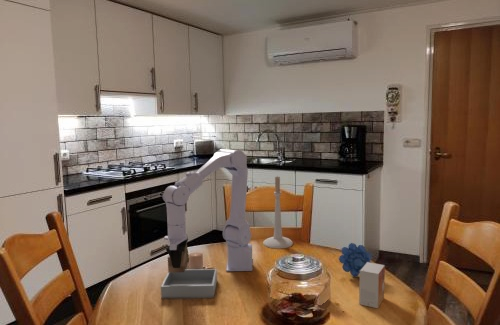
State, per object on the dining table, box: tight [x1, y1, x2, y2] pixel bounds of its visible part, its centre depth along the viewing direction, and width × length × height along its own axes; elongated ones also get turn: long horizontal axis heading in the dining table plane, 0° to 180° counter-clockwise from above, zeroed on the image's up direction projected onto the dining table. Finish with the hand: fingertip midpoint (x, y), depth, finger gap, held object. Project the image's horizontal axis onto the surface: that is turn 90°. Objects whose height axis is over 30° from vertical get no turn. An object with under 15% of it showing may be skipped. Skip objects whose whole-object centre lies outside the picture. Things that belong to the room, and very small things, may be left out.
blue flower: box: [338, 242, 373, 278], centre depth 134 cm, size 12×7×12 cm, turn 92°
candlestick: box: [262, 175, 294, 250], centre depth 169 cm, size 13×13×30 cm
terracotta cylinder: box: [188, 251, 204, 269], centre depth 140 cm, size 5×5×7 cm
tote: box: [160, 268, 218, 300], centre depth 127 cm, size 16×13×4 cm
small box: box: [358, 261, 386, 309], centre depth 117 cm, size 8×6×10 cm
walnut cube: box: [167, 252, 188, 273], centre depth 127 cm, size 5×5×5 cm
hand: (178, 264), depth 127 cm, fingers closed on walnut cube, 5 cm apart
